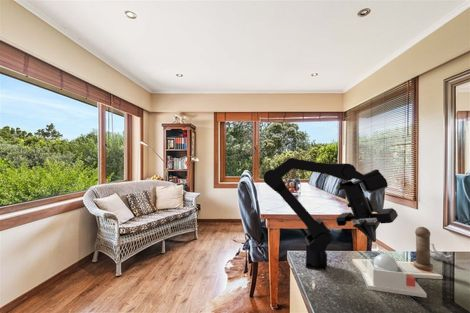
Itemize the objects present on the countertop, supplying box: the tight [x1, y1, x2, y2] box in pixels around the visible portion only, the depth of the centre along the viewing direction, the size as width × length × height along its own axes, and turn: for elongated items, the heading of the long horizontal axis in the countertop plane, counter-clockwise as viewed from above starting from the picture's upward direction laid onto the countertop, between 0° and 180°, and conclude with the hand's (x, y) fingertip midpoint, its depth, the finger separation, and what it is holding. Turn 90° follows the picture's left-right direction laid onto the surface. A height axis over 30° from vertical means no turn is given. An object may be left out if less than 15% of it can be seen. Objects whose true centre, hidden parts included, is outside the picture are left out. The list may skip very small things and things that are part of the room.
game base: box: [361, 258, 428, 298], centre depth 71 cm, size 14×9×6 cm, turn 72°
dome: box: [373, 253, 397, 272], centre depth 71 cm, size 6×6×6 cm
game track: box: [352, 258, 444, 280], centre depth 81 cm, size 23×10×1 cm, turn 82°
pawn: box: [413, 226, 434, 271], centre depth 80 cm, size 5×5×13 cm
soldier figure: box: [430, 242, 454, 264], centre depth 89 cm, size 8×5×12 cm
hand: (374, 241), depth 81 cm, fingers closed
